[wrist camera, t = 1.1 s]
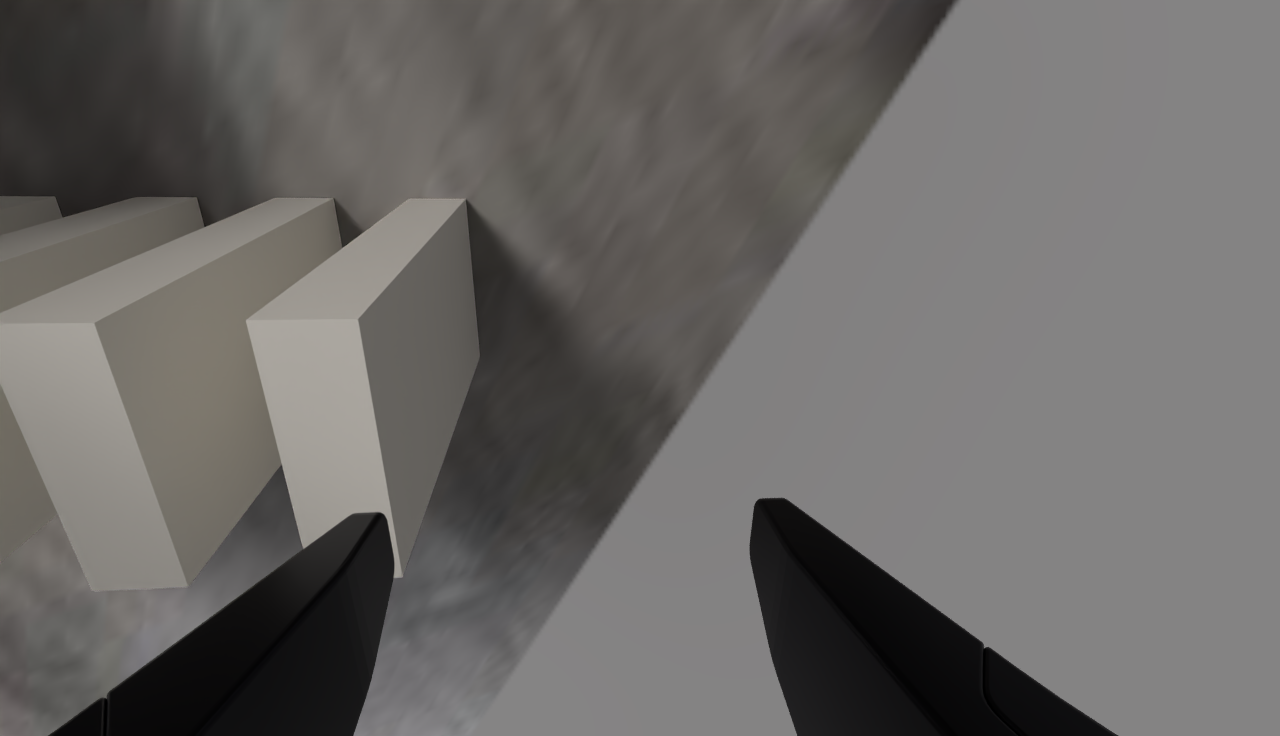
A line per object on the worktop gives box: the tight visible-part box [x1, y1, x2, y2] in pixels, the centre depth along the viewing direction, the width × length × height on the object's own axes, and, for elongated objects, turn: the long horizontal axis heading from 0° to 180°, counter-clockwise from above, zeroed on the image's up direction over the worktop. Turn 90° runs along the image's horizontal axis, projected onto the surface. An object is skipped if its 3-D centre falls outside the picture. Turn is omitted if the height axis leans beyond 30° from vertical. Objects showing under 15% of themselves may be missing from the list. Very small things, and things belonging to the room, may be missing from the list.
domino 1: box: [0, 197, 204, 563], centre depth 14 cm, size 2×5×10 cm, turn 179°
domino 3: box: [246, 198, 480, 578], centre depth 15 cm, size 2×5×10 cm, turn 179°
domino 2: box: [0, 198, 342, 591], centre depth 15 cm, size 2×5×10 cm, turn 179°
